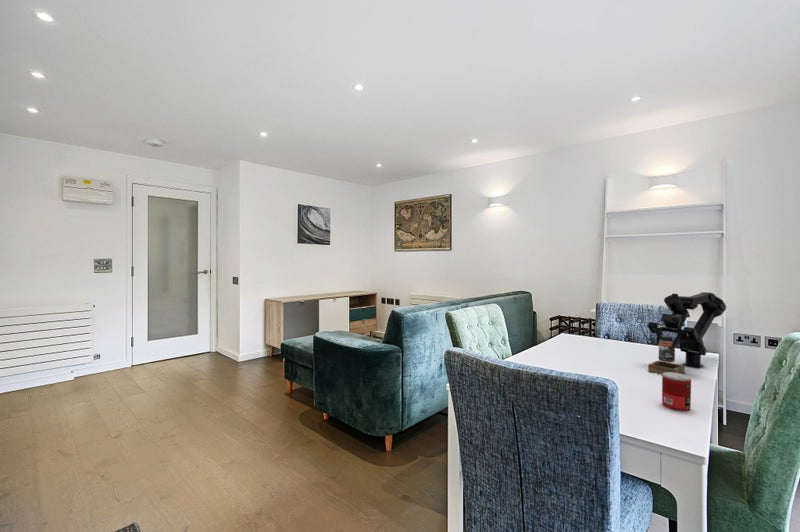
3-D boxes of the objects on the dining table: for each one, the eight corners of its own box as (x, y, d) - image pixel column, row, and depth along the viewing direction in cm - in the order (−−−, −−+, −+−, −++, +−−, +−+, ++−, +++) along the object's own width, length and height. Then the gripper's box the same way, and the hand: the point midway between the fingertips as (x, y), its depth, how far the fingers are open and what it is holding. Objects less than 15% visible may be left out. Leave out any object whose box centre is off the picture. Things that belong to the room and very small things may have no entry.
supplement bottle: (669, 359, 168) (669, 334, 168) (677, 362, 162) (678, 337, 162) (655, 358, 169) (655, 334, 168) (663, 362, 163) (663, 337, 162)
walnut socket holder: (657, 367, 173) (657, 360, 173) (684, 373, 164) (684, 365, 164) (648, 371, 167) (648, 364, 167) (675, 378, 158) (675, 370, 158)
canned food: (692, 413, 123) (692, 380, 122) (662, 408, 127) (663, 376, 127) (688, 405, 129) (689, 374, 129) (661, 400, 133) (661, 370, 133)
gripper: (649, 304, 175) (636, 330, 170) (695, 309, 159) (682, 338, 153) (658, 319, 179) (645, 345, 174) (704, 326, 163) (691, 354, 158)
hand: (664, 345), depth 165 cm, fingers closed on supplement bottle, 6 cm apart
